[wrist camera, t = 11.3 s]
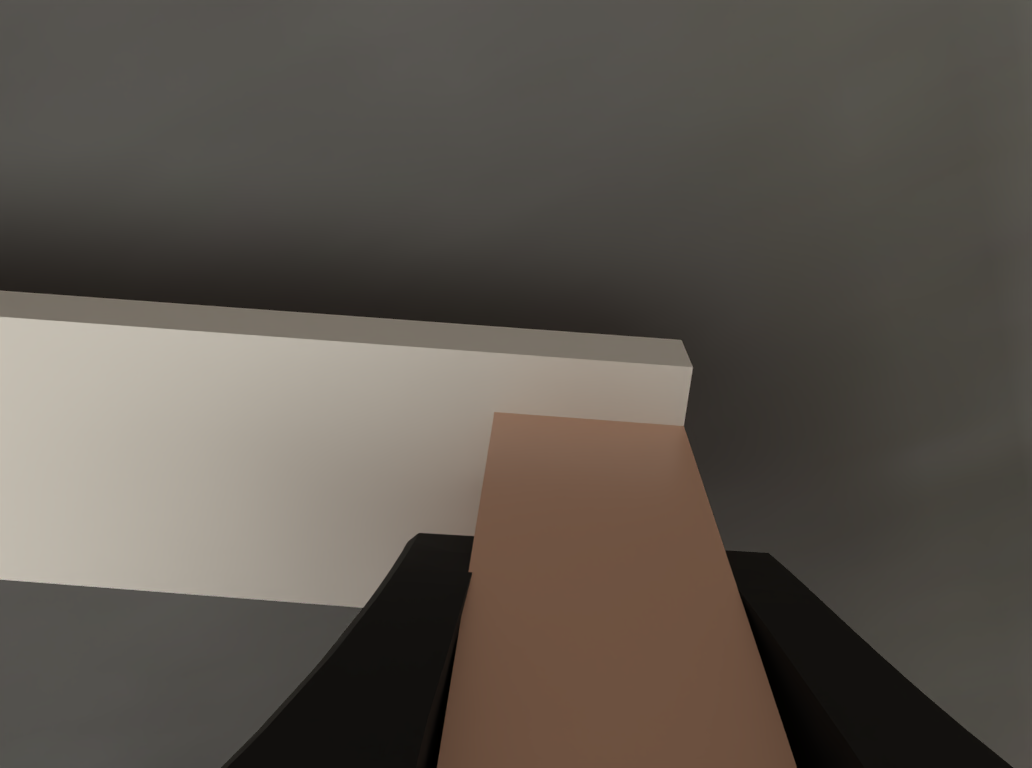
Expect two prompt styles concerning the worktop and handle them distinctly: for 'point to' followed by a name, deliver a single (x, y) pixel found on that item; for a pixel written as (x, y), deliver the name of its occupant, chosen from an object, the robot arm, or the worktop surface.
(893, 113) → the worktop surface
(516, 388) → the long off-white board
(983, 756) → the robot arm
